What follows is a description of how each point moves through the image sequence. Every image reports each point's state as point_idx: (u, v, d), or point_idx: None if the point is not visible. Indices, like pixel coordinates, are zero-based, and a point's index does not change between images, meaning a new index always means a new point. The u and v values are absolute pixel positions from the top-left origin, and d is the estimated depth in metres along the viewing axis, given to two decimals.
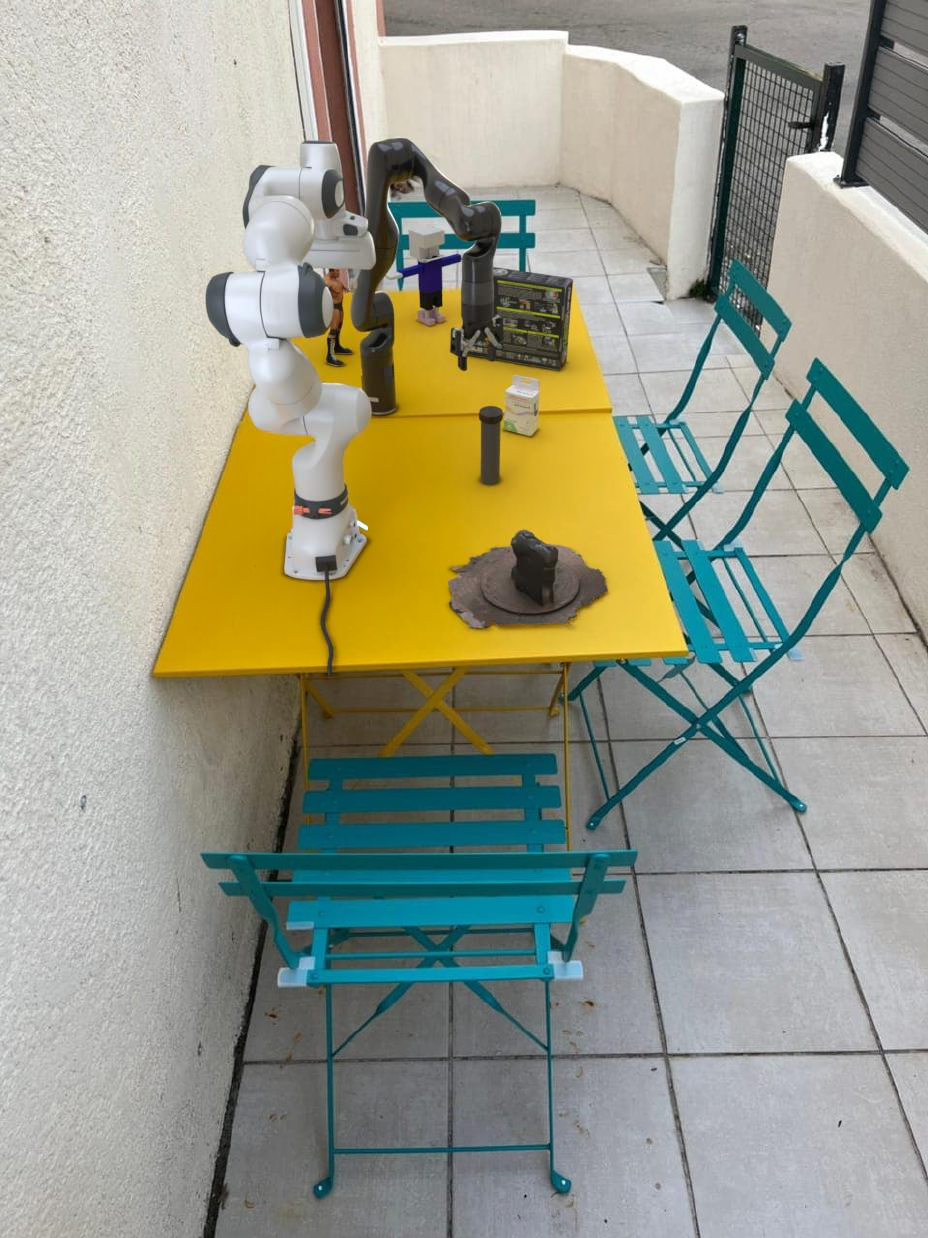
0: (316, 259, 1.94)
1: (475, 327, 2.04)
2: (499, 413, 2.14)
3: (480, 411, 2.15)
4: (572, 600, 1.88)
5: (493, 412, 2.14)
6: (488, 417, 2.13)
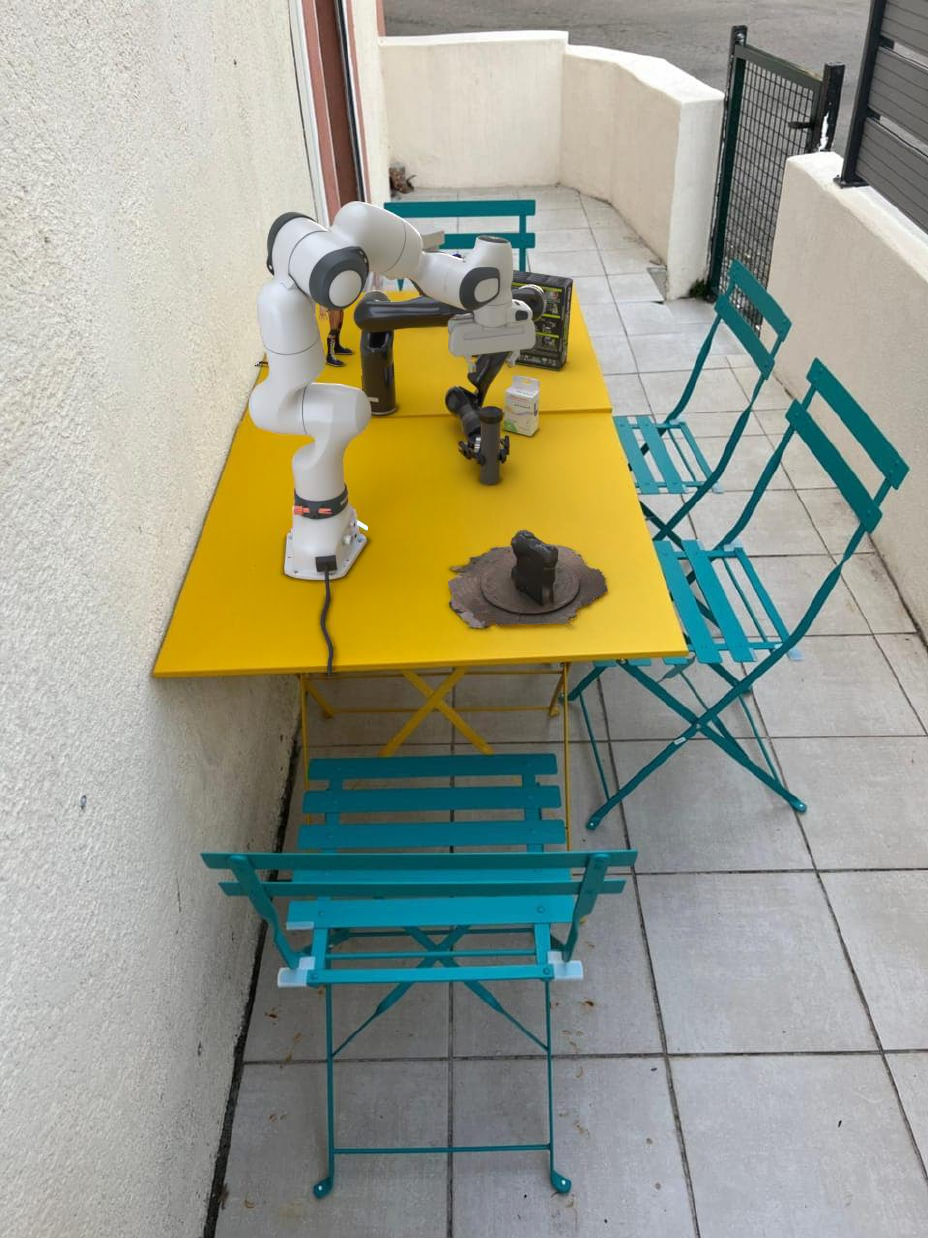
0: (483, 346, 2.02)
1: None
2: (499, 413, 2.14)
3: (480, 411, 2.15)
4: (572, 600, 1.88)
5: (493, 412, 2.14)
6: (488, 417, 2.13)
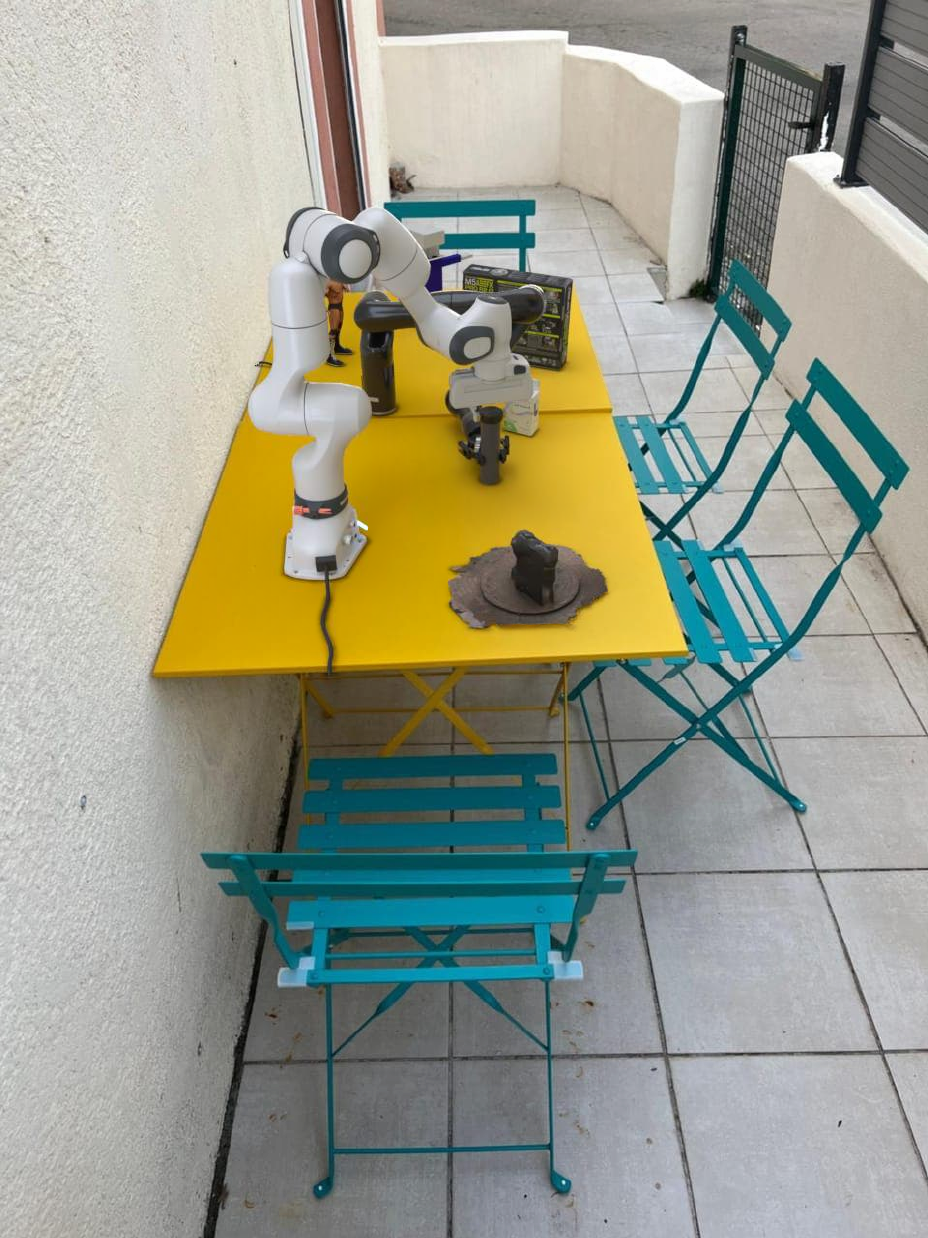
0: (483, 398, 2.10)
1: None
2: (499, 413, 2.14)
3: (480, 411, 2.15)
4: (572, 600, 1.88)
5: (493, 412, 2.14)
6: (488, 417, 2.13)
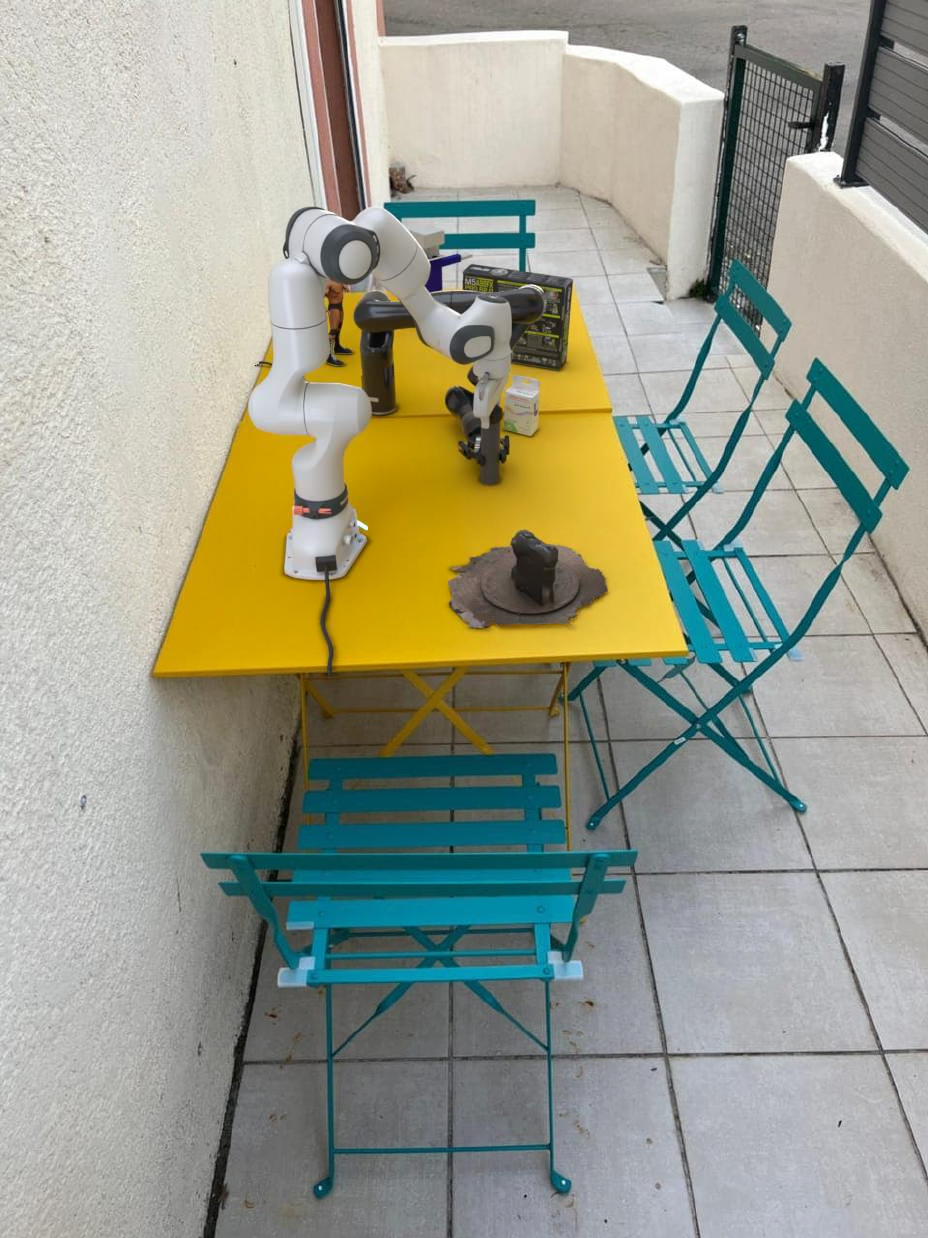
0: (495, 398, 2.09)
1: None
2: (496, 406, 2.16)
3: (490, 415, 2.13)
4: (572, 600, 1.88)
5: (493, 409, 2.15)
6: (502, 412, 2.14)
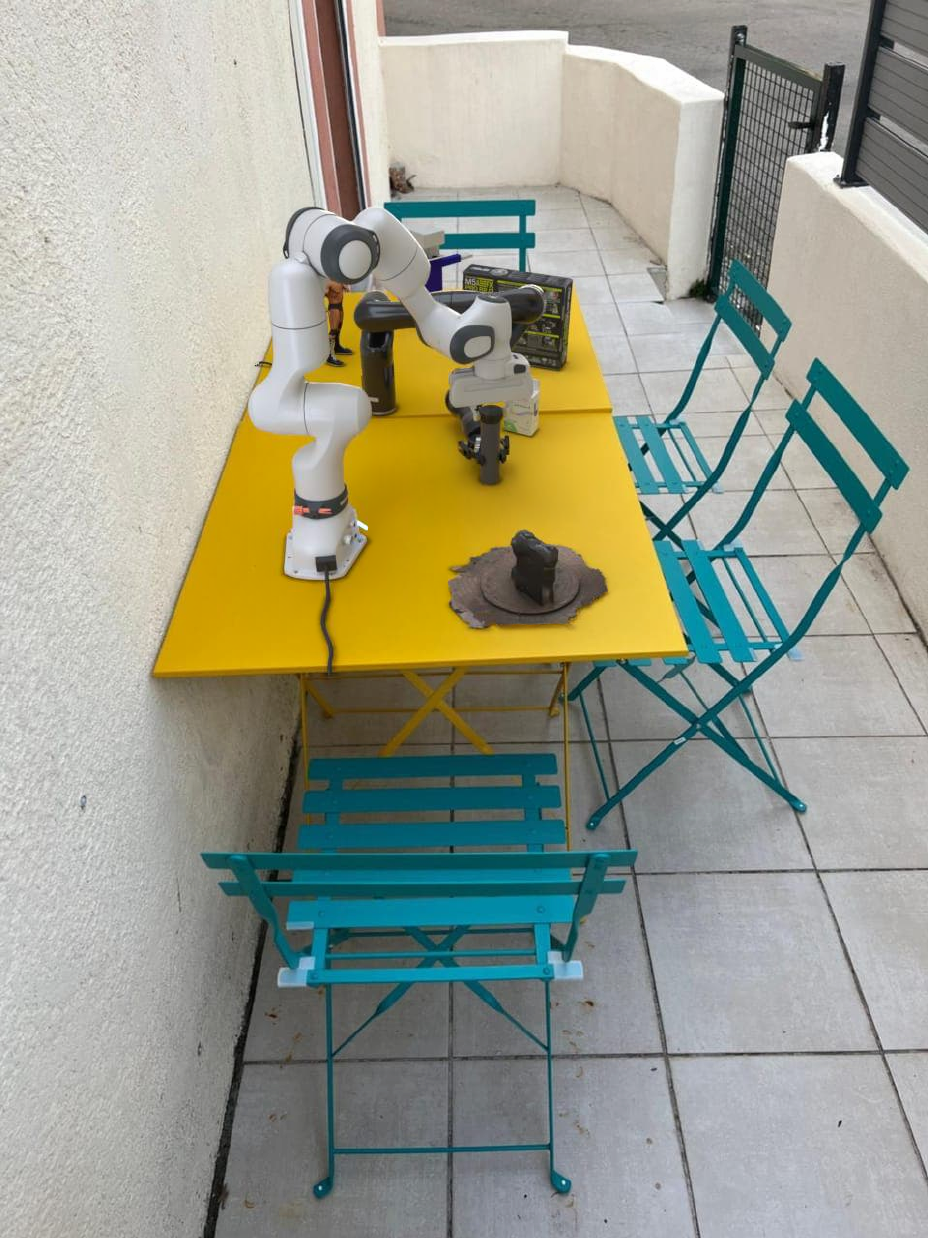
0: (483, 397, 2.10)
1: None
2: (496, 406, 2.16)
3: (490, 415, 2.13)
4: (572, 600, 1.88)
5: (493, 409, 2.15)
6: (501, 412, 2.14)
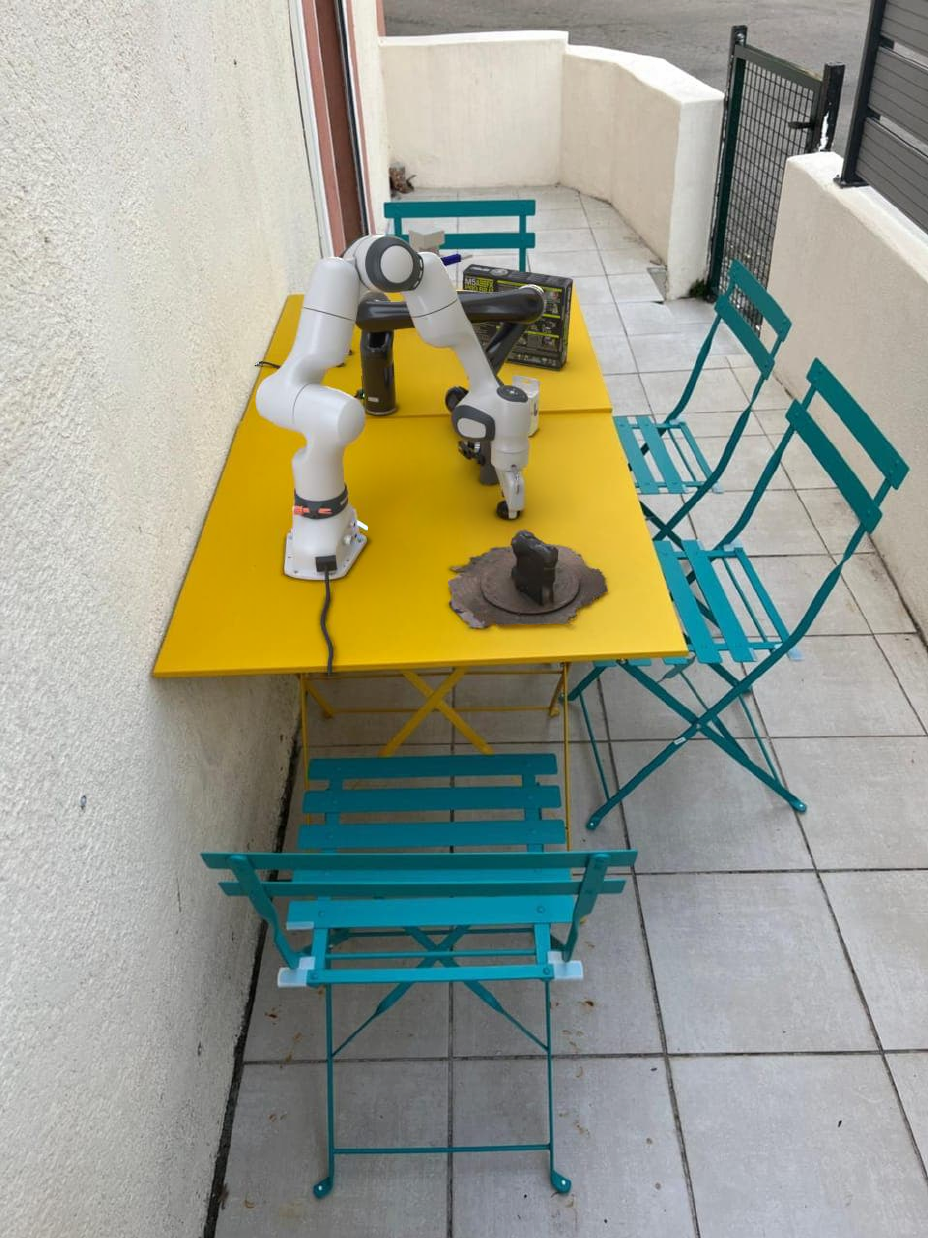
0: None
1: None
2: (501, 502, 2.15)
3: None
4: (572, 600, 1.88)
5: (506, 504, 2.15)
6: None
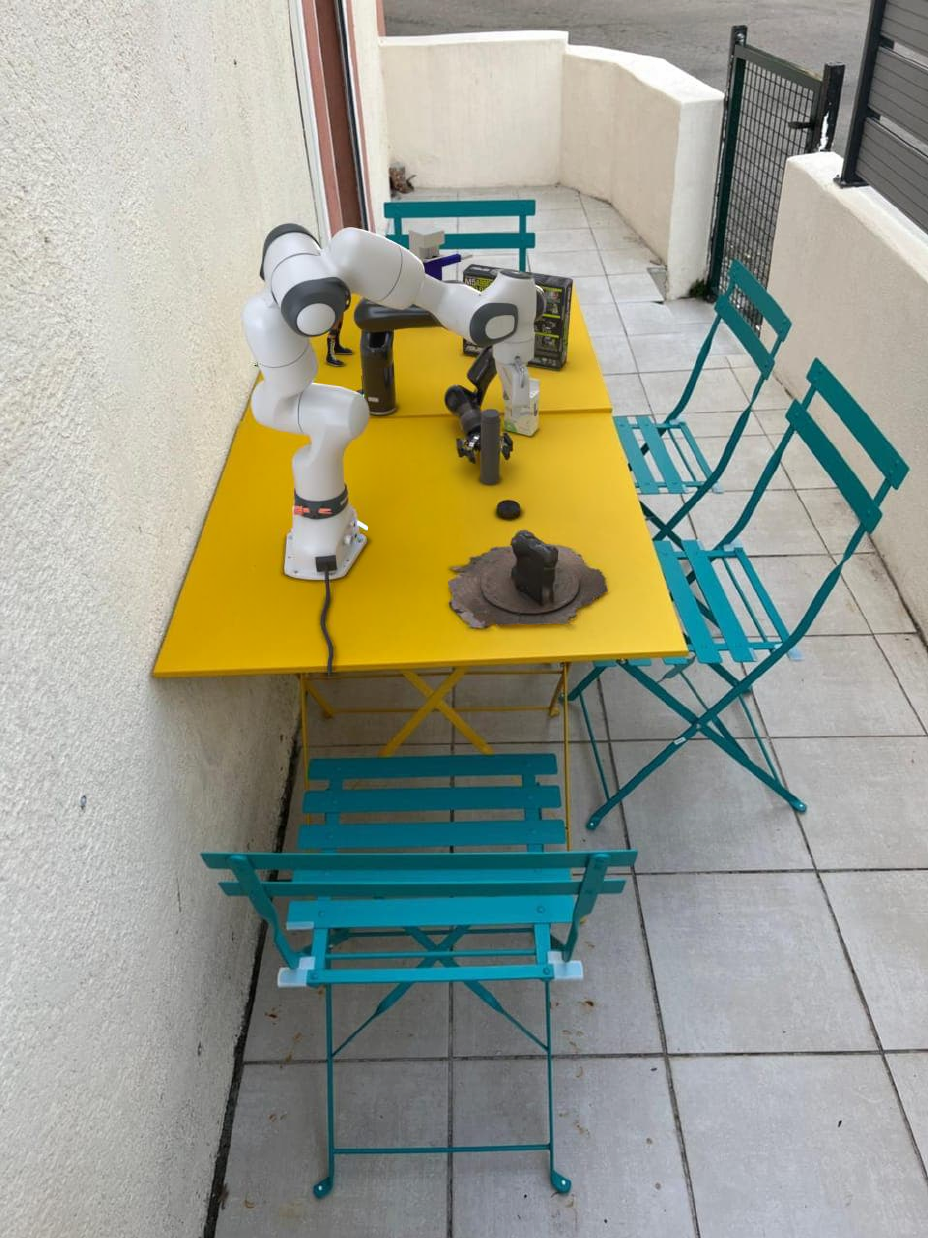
0: None
1: None
2: (501, 502, 2.15)
3: (519, 507, 2.14)
4: (572, 600, 1.88)
5: (506, 504, 2.15)
6: None
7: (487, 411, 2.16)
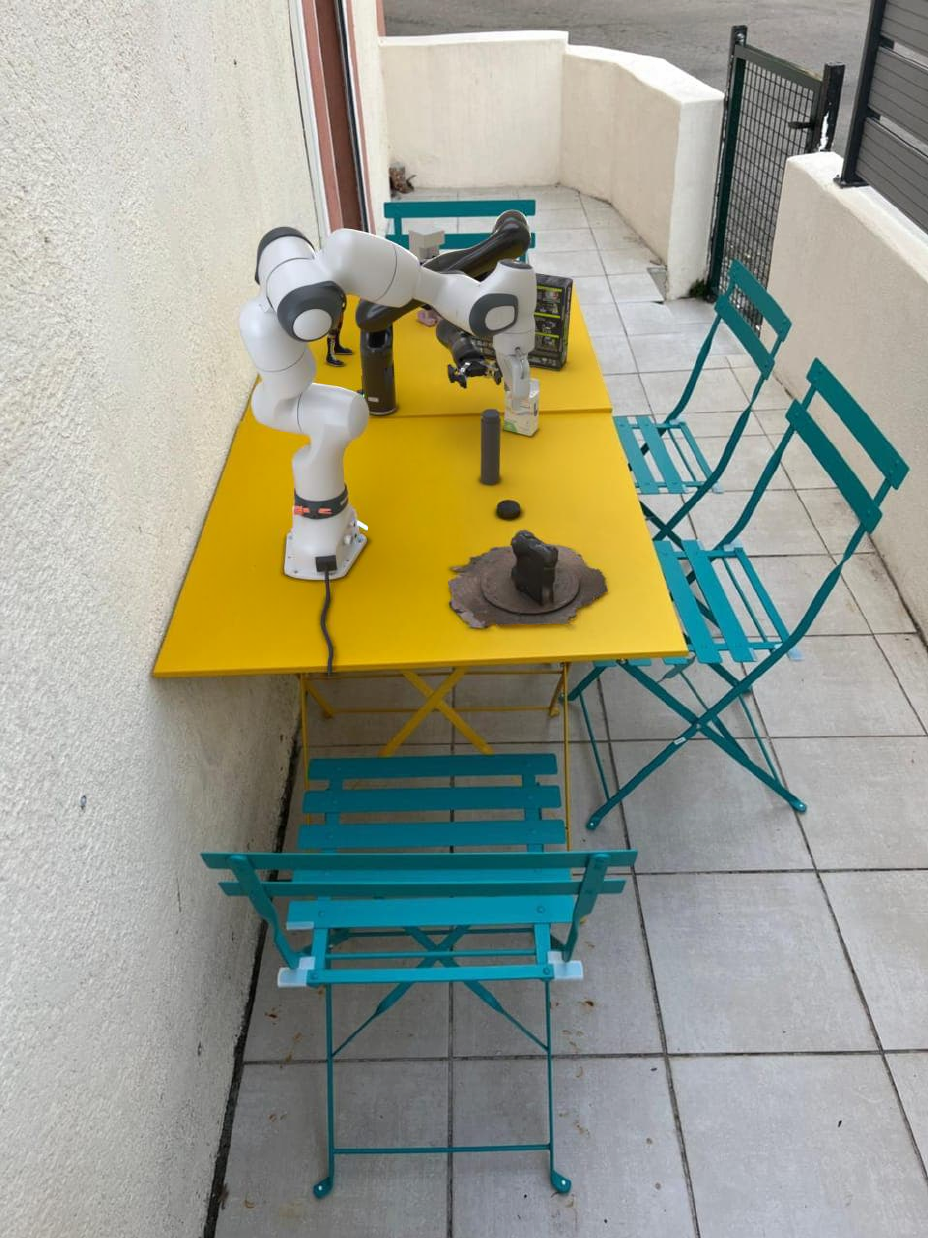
0: None
1: None
2: (501, 502, 2.15)
3: (519, 507, 2.14)
4: (572, 600, 1.88)
5: (506, 504, 2.15)
6: None
7: (487, 411, 2.16)
